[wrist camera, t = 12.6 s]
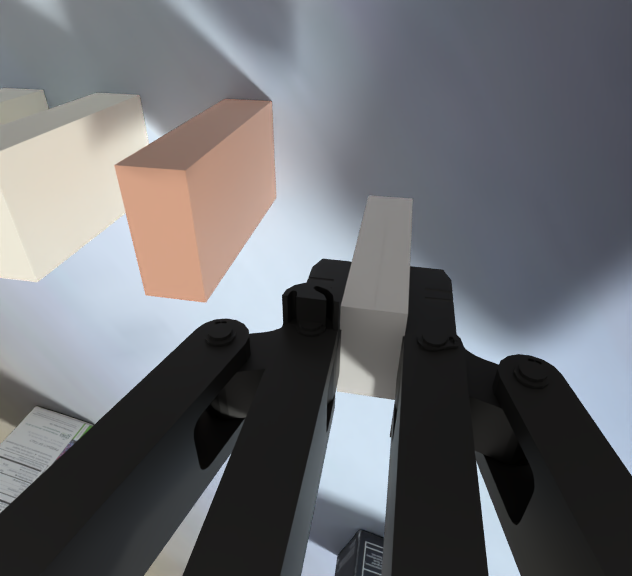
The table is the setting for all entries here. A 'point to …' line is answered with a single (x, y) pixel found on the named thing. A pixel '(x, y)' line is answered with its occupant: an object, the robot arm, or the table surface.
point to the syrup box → (35, 449)
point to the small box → (361, 556)
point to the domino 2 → (199, 196)
